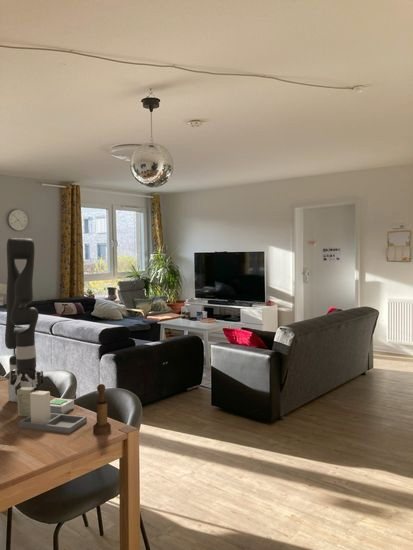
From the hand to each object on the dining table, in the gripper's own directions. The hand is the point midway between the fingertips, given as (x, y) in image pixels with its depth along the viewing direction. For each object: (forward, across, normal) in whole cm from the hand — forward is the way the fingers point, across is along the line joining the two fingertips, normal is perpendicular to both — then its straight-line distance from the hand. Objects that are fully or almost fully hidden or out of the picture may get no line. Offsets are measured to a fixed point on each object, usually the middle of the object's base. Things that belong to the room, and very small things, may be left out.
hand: (27, 395), depth 186 cm
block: (+8, -11, +7) cm, 15 cm away
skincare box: (+9, 0, 0) cm, 9 cm away
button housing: (+9, -10, -7) cm, 15 cm away
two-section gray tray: (+10, -16, +7) cm, 20 cm away
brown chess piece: (+10, -36, +5) cm, 38 cm away
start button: (+7, -10, -7) cm, 14 cm away
